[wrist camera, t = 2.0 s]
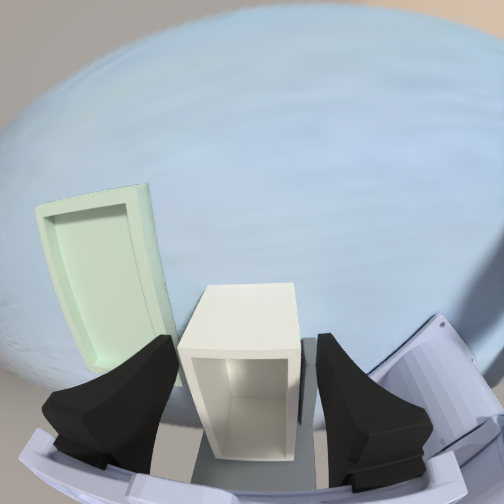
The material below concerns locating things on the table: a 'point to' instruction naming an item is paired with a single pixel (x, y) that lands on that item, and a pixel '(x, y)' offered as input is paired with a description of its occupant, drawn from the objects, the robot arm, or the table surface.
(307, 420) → the bay
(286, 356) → the box
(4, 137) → the table surface
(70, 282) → the tray
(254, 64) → the table surface
